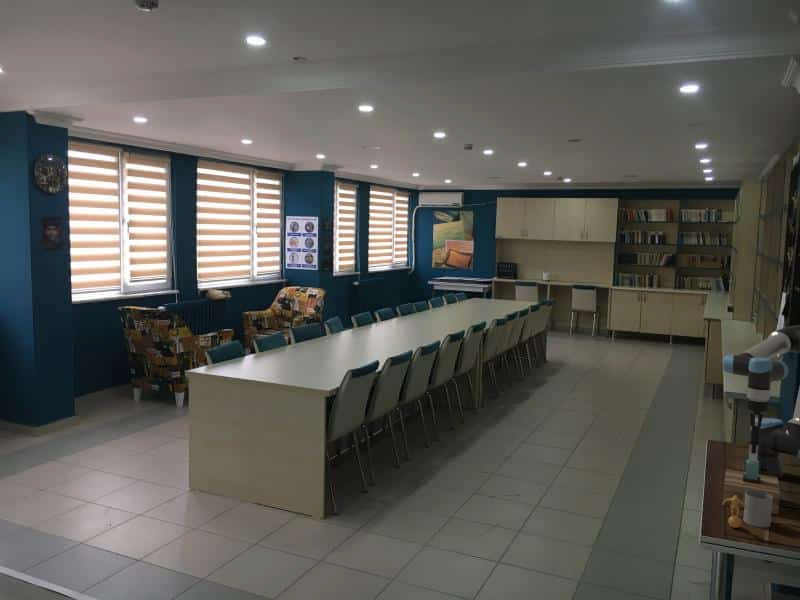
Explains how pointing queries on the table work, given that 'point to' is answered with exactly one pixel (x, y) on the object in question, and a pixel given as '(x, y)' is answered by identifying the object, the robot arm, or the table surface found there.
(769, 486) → the socket block
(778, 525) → the table surface
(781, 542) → the table surface
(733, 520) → the figurine
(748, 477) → the peg
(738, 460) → the table surface
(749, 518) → the cup
